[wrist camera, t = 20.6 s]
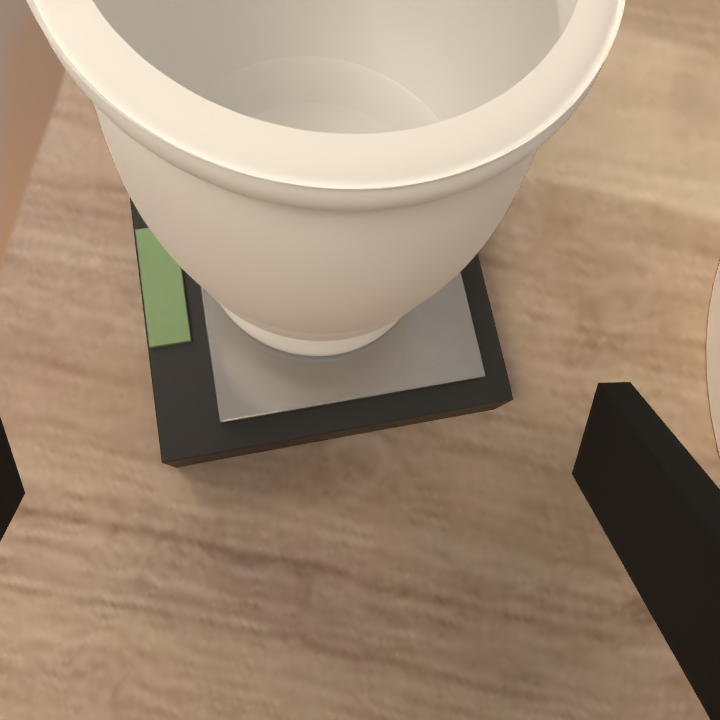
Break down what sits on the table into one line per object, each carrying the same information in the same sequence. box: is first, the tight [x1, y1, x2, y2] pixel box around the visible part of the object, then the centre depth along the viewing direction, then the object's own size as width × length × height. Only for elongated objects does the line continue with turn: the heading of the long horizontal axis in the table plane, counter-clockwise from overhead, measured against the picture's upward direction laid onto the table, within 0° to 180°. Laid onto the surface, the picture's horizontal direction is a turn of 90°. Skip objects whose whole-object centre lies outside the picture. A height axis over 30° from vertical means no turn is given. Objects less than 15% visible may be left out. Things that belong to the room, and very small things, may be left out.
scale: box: [130, 198, 513, 467], centre depth 27 cm, size 14×14×3 cm
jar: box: [26, 0, 625, 356], centre depth 18 cm, size 11×10×15 cm
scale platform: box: [200, 272, 485, 425], centre depth 25 cm, size 12×10×1 cm
